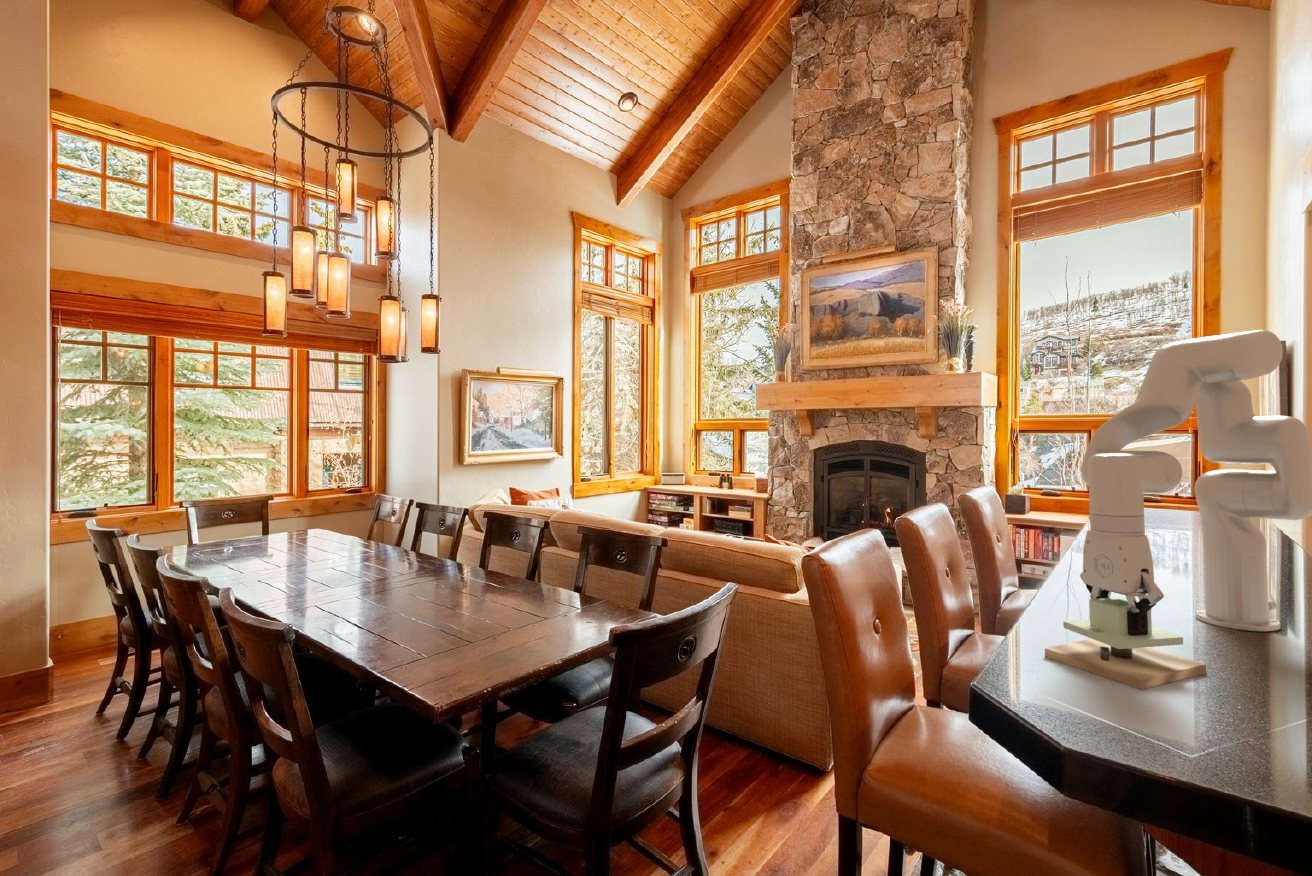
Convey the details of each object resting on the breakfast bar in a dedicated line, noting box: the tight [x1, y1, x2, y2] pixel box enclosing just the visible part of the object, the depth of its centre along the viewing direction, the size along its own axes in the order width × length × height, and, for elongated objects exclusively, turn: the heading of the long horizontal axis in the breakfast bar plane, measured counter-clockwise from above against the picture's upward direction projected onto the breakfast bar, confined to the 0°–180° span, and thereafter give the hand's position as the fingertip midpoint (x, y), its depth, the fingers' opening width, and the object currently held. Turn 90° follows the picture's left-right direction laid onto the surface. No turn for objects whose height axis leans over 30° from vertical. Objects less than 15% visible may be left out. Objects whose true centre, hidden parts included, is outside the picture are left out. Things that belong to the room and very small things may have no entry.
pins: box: [1100, 646, 1133, 661], centre depth 104 cm, size 6×3×6 cm, turn 110°
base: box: [1044, 638, 1207, 690], centre depth 105 cm, size 16×16×2 cm
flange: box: [1062, 596, 1184, 649], centre depth 105 cm, size 12×12×6 cm
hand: (1120, 627), depth 105 cm, fingers closed on flange, 6 cm apart
